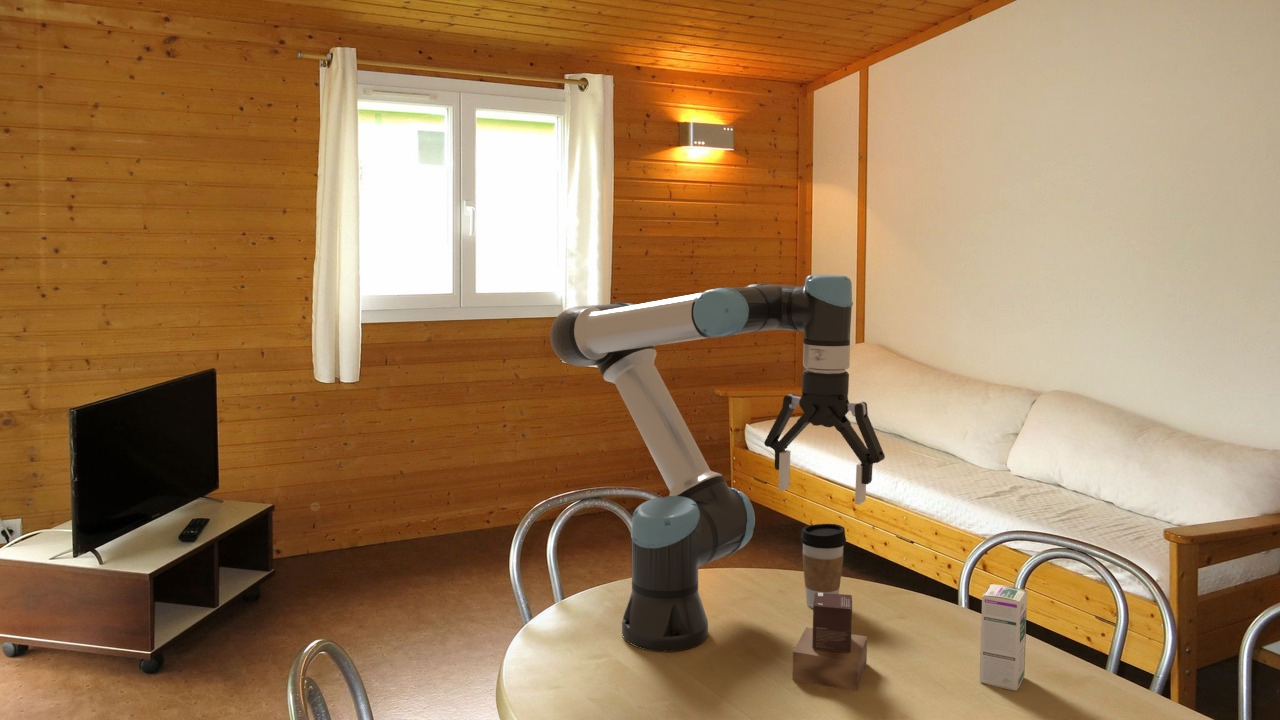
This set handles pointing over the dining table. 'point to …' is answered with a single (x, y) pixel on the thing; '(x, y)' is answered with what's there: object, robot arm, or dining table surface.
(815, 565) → the coffee cup
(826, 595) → the box
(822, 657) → the walnut block
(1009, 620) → the syrup box
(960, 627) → the dining table surface
